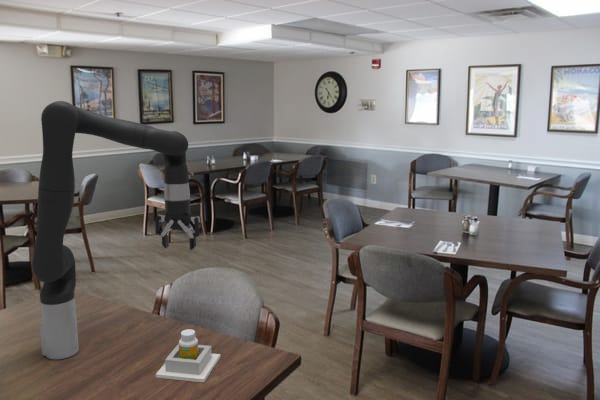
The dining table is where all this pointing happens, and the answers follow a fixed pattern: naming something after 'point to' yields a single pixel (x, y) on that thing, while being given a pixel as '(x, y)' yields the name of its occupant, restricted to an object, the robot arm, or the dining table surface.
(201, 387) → the dining table surface
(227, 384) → the dining table surface
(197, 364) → the socket block
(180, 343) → the supplement bottle
